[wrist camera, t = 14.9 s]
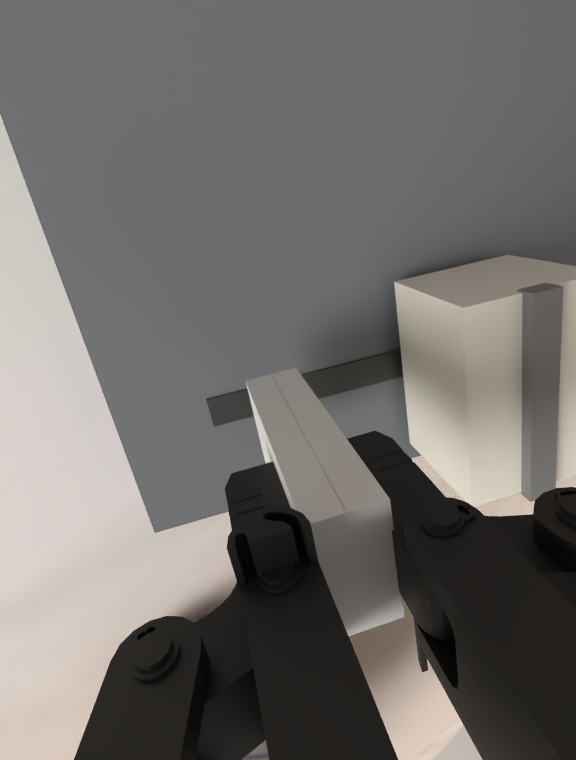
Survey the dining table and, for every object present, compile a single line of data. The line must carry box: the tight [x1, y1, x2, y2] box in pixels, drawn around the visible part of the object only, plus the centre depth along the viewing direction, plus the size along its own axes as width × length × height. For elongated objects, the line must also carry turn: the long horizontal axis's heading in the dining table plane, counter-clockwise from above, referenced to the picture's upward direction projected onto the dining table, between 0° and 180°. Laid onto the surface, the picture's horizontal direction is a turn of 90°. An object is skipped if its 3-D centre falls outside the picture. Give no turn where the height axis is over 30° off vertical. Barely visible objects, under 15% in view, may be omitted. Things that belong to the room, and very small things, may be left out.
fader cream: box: [394, 255, 576, 507], centre depth 15 cm, size 6×4×4 cm, turn 11°
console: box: [0, 0, 576, 533], centre depth 16 cm, size 22×24×3 cm
